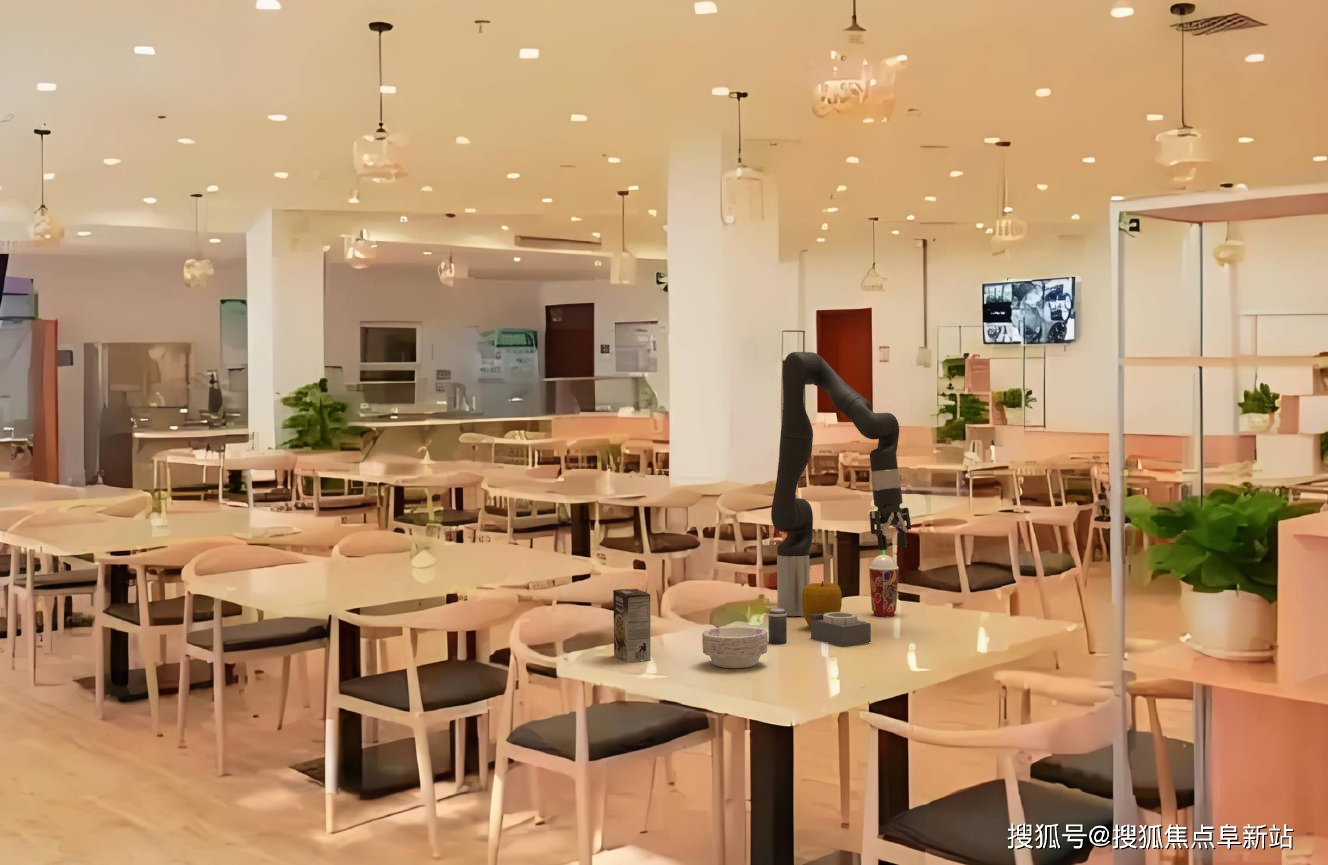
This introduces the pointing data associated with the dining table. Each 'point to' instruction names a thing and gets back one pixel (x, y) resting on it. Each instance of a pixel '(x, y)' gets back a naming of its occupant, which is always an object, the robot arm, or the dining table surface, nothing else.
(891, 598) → the smoothie
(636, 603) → the coffee box
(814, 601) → the apple
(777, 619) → the lens
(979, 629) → the dining table surface
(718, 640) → the paper bowls
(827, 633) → the camera body
